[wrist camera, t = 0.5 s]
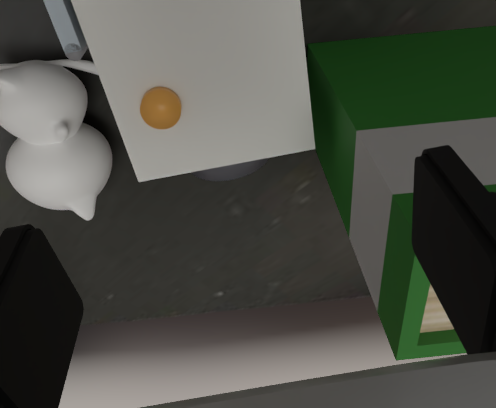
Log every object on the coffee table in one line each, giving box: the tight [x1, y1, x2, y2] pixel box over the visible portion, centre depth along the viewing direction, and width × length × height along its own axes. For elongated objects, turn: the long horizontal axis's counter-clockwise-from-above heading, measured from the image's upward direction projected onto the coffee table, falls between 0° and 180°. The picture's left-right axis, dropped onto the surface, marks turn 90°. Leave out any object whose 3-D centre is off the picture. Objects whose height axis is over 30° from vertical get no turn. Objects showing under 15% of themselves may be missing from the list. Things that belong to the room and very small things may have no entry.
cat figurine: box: [0, 59, 112, 220], centre depth 37 cm, size 9×11×12 cm
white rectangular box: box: [71, 0, 315, 182], centre depth 30 cm, size 22×12×11 cm, turn 10°
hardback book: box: [308, 26, 496, 360], centre depth 30 cm, size 18×7×24 cm, turn 94°
